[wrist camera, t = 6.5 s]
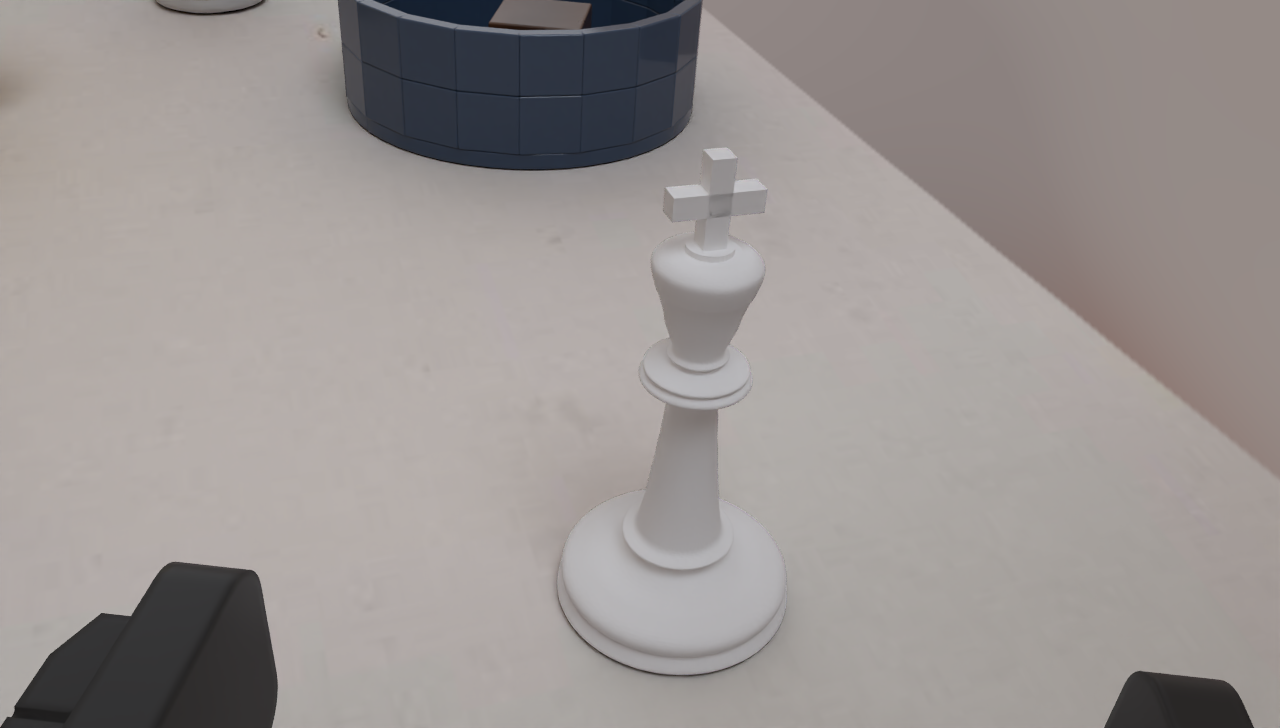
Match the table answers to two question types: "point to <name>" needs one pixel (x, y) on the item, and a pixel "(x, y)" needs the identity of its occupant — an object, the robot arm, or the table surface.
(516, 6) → the block
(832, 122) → the table surface
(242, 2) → the pill bottle
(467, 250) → the table surface
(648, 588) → the chess piece
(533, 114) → the bowl
